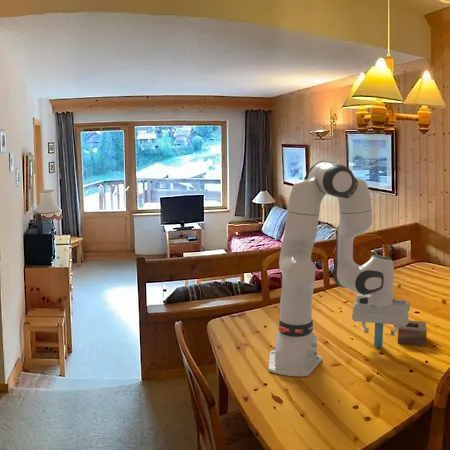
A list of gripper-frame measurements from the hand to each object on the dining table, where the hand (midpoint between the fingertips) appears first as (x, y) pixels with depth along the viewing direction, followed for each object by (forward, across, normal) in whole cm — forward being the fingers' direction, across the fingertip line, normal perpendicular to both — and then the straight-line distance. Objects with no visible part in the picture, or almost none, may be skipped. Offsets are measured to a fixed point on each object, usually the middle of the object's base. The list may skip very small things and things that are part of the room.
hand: (379, 333), depth 198 cm
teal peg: (+5, 0, 0) cm, 5 cm away
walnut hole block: (+5, -12, -10) cm, 16 cm away
